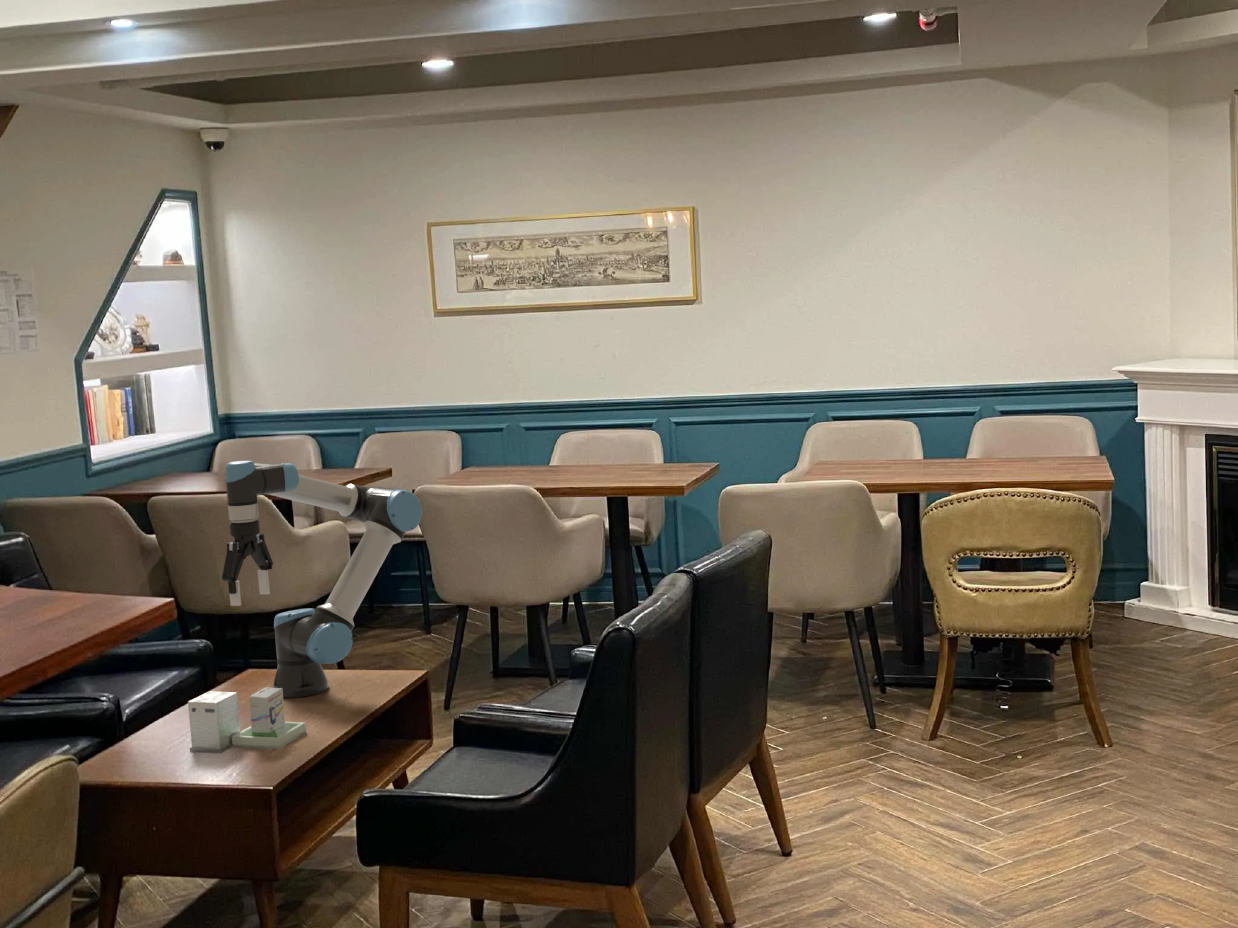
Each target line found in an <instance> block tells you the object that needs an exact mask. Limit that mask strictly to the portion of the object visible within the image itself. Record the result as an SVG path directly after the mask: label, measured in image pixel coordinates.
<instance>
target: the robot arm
mask: <svg viewBox="0 0 1238 928" xmlns="http://www.w3.org/2000/svg"><path fill="white" fill-rule="evenodd" d="M224 469H225V470H224V475H225V476H224V482H225V486H226V487H225V488H226V489H225V490H226V498H227V499H226V500H227V507H228V509H227V510H228V520H229V521H230V522H229V534H230V537H233V538H234V541H233V542H227V543H226V555H225V560H224V565H223V571H222V576H221V579H222V581H223V582H227V585H228V593H229V602H230V604H229V605H230V607H240V606H242V598H241V587H240V580H238V578H239V575H240V571H241V569H242V567H243V563H244V561H245V560H246V559H247V557H249V556H251V559H252V560H253V561H254V563H255V564H256V566H258V568H259V569H258V570H257V578H258V590H259V591H258V593H259V595H270V594H271V592H270V591H271V590H270V575H269V574H270V573H269V570H272V569H273V565H274V561H273V558H272V556H271V553H270V552H269V549H268V546H267V543H266V540H265V535H264V534H262V533H260V532H261V529H260V528H261V527H260V521H259V519H258V518H259V517H260V514H259V506H258V496H263V495H270V496H274V497H277V498H281V499H282V498H283V499H286V500H290V501H294V502H297V503H298V502H299V503H303V504H307V505H310V506H311V505H312V506H314V507H319V508H322V509H327V510H331V511H335V512H338V513H339V515H340V516H341V517H345V518H349V519H351V520H352V519H353V520H356V521H357V522H359V523H364V527H365V532H364V533H363V535H362V537H361V539H360V541H359V543H358V544H357V546H356V547H355V549H354V551H353V553H352V555H351V557H350V558H349V561H348V562H347V564H346V565H345V567H344V569H343V571H342V573H341V574H340V576H339V579H338V580H337V581H336V584H335V585H334V587H333V589H332V591H331V592H330V594H329V596H328V598H327V599H326V601H325V602H324V604H321V605H318V606H316V608H313V607H312V608H309V607H308V608H299V609H294V610H288V611H284V612H280V613H277V614H276V615H275V617H274V618H273V619H274V621H273V629H274V639H275V640H274V641H275V651H276V661H277V668H276V671H275V675H274V680H273V684H272V688H282V689H283V698H289V699H290V698H303V697H309V696H313V695H317V694H321V693H322V692H325V691H326V690H327V689H328V688H329V684H328V682H329V681H328V678H327V675H326V673H325V671H324V668H323V666H322V665H324V664H325V665H333V664H337V663H338V662H341V661H343V659H344V658H346V657H347V656H348V655H349V653H350V651H351V649H352V646H353V643H354V642H353V641H354V640H353V633H352V631H353V630H354V627H355V623H354V616H355V615H356V612H357V611H358V610H359V608H360V606H361V603H362V602H363V600H364V598H365V597H366V594H367V593H368V591H369V589H370V587H371V586H372V584H373V582H374V580H375V578H376V576H377V575H378V573H379V570H380V568H381V567H382V566H383V564H384V562H385V560H386V558H387V556H388V554H389V553H390V551H391V549H392V547H393V545H395V544H398V543H401V542H402V540H403V538H404V537H405V535H406V533H407V532H411V531H413V530H415V529H416V528H418V526H419V524H420V523H421V520H422V517H423V508H422V505H421V501H420V499H419V498H418V496H417V495H416V494H415V493H413V492H412V491H410V490H405V489H403V488H392V487H391V488H390V487H381V486H363V485H355V484H352V483H348V484H347V485H342V484H338V483H335V482H334V483H333V482H330V481H326V480H322V479H318V478H314V477H310V476H306V475H303V474H299V472H298V469H297V467H296V466H295V465H294V464H293V463H286V462H285V463H283V462H281V463H276V464H271V463H259V462H254V461H253V460H237V461H230V462H227V464H226V465H225V468H224Z"/></svg>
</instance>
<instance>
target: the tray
mask: <svg viewBox="0 0 1238 928" xmlns="http://www.w3.org/2000/svg"><path fill="white" fill-rule="evenodd" d="M306 726H307V725H306V722H302V721H301V722H299V721H285V732H284V733H282V734H281V735H280V736H278V737H277V738H275V737H257V736H252V728H251V725H249V726H248V727H245V728H244V729H243V730H240V732H239V733H237V734H235V735H234V736H232V745H233V746H232V747H233V748H248V749H250V748H252V749H263V750H265V749H267V750H280V749H282V748H283V747H285V746H286V745H288V744H290V743H292V742H294V741H295V740H296V739H298V738H300V737H301V736H303V735H305V734H306V733H307V727H306Z"/></svg>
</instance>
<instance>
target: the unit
mask: <svg viewBox="0 0 1238 928" xmlns="http://www.w3.org/2000/svg"><path fill="white" fill-rule="evenodd" d="M187 705H188V718H189V719H188V720H189V729H190V739H191V746H190V747H189V752H192V753H194V752H195V753H210V754H222V753H223V752H225V751H227V750H228V749H231V748H232V747H233V745H232V736H234V735H235V734H237V733H239V732H241V723H240V722H241V721H240V712H239V699H238V692H237V691H236V692H235V691H215V690H210V691H207V692H205V693H203V694H201V695H199V696H197V697H195V698H193V699H190V700H188V701H187Z"/></svg>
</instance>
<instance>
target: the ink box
mask: <svg viewBox="0 0 1238 928" xmlns="http://www.w3.org/2000/svg"><path fill="white" fill-rule="evenodd" d="M249 706H250V707H249V708H250V710H249V711H250V724H251V725H250V726H251V728H252V736H257V737H275V738H277V737H278V736H280V735H281V734H282V733H284V732H285V722H286V720H285V707H284V697H283V689H282V688H273V687H269V686H267V687H264V688H262V689H260V690H258V691H257V692H254V693H253V694H251V695H250V696H249Z"/></svg>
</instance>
